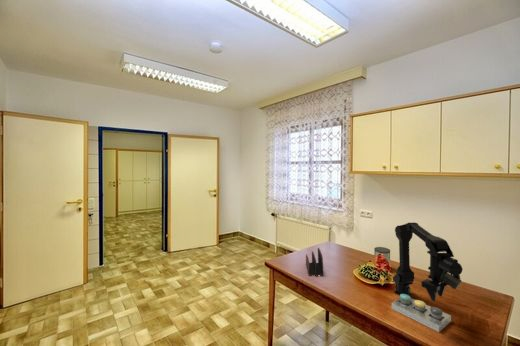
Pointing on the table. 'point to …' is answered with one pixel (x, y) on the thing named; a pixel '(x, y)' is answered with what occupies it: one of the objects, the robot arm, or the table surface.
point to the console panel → (421, 315)
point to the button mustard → (420, 306)
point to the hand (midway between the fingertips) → (436, 298)
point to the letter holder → (315, 264)
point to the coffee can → (382, 252)
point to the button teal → (405, 299)
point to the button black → (436, 313)
